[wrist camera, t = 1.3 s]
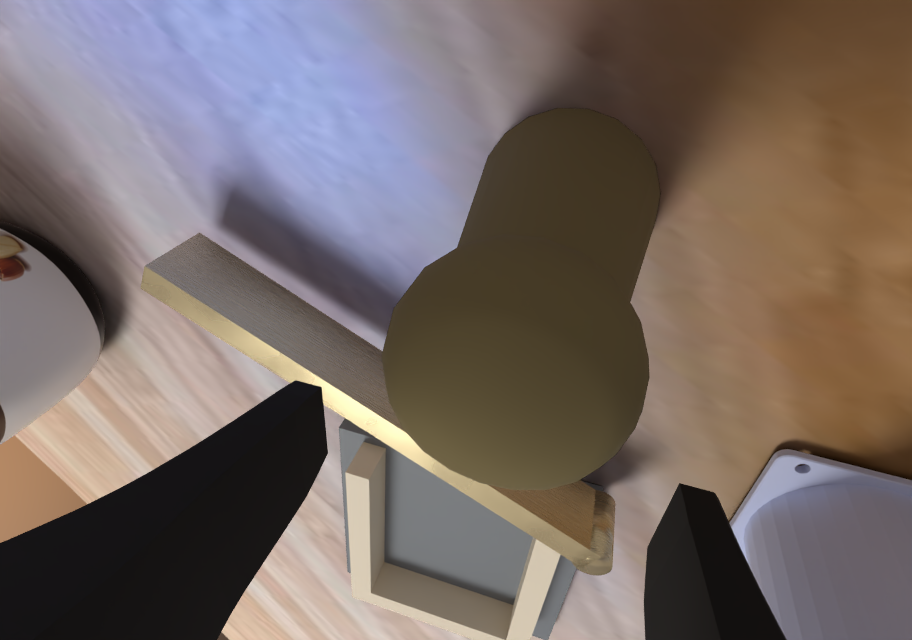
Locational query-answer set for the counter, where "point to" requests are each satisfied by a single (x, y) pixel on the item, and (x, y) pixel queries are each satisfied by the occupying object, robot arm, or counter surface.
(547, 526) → the bar
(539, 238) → the brown rounded piece
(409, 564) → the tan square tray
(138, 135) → the counter surface
